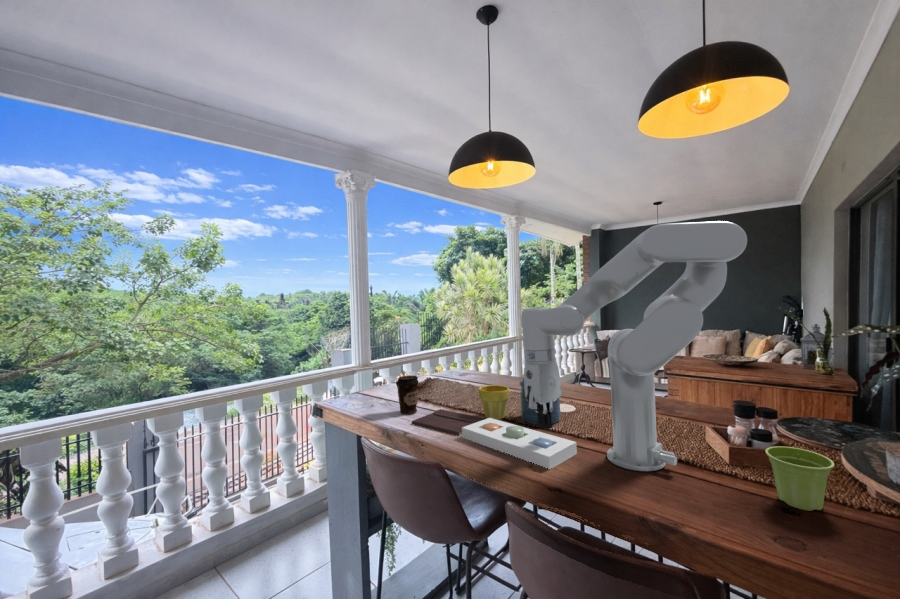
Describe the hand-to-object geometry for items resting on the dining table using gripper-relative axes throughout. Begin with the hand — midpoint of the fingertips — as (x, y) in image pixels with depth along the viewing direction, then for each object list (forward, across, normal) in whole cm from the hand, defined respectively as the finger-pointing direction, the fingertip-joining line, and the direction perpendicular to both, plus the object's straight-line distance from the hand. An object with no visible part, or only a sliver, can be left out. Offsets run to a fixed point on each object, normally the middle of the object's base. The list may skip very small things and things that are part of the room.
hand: (545, 427), depth 96 cm
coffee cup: (+5, -3, +58) cm, 58 cm away
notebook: (+7, -1, +38) cm, 38 cm away
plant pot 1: (+7, +14, +31) cm, 35 cm away
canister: (+7, +22, +18) cm, 30 cm away
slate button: (+7, -1, +1) cm, 7 cm away
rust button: (+6, -1, +19) cm, 20 cm away
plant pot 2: (+9, +13, -46) cm, 49 cm away
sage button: (+5, -1, +10) cm, 11 cm away
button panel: (+7, -1, +10) cm, 12 cm away
